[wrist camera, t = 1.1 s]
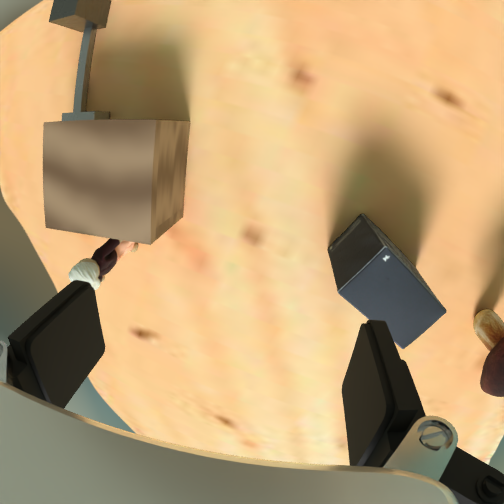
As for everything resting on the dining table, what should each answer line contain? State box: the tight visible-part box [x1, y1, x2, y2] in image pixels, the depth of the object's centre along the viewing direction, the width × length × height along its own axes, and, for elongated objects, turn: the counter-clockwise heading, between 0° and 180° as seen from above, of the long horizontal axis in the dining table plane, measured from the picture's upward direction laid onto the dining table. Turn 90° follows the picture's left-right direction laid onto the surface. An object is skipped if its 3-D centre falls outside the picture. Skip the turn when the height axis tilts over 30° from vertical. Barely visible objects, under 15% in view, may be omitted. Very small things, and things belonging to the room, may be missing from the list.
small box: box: [328, 214, 446, 349], centre depth 32 cm, size 11×6×10 cm, turn 51°
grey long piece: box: [49, 0, 111, 121], centre depth 28 cm, size 16×6×7 cm, turn 173°
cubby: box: [43, 119, 190, 245], centre depth 32 cm, size 11×13×10 cm
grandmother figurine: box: [69, 238, 138, 290], centre depth 34 cm, size 8×4×13 cm, turn 155°
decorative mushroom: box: [473, 309, 504, 397], centre depth 31 cm, size 11×11×15 cm
